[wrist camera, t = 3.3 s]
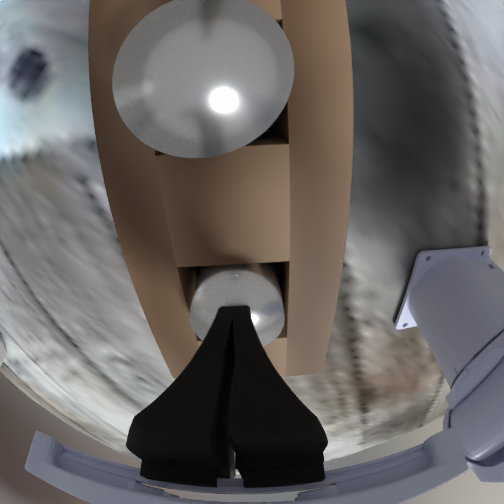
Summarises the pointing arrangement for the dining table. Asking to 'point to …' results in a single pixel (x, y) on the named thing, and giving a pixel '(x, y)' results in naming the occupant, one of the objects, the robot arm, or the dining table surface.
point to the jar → (2, 349)
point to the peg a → (203, 76)
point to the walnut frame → (237, 189)
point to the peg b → (239, 297)
